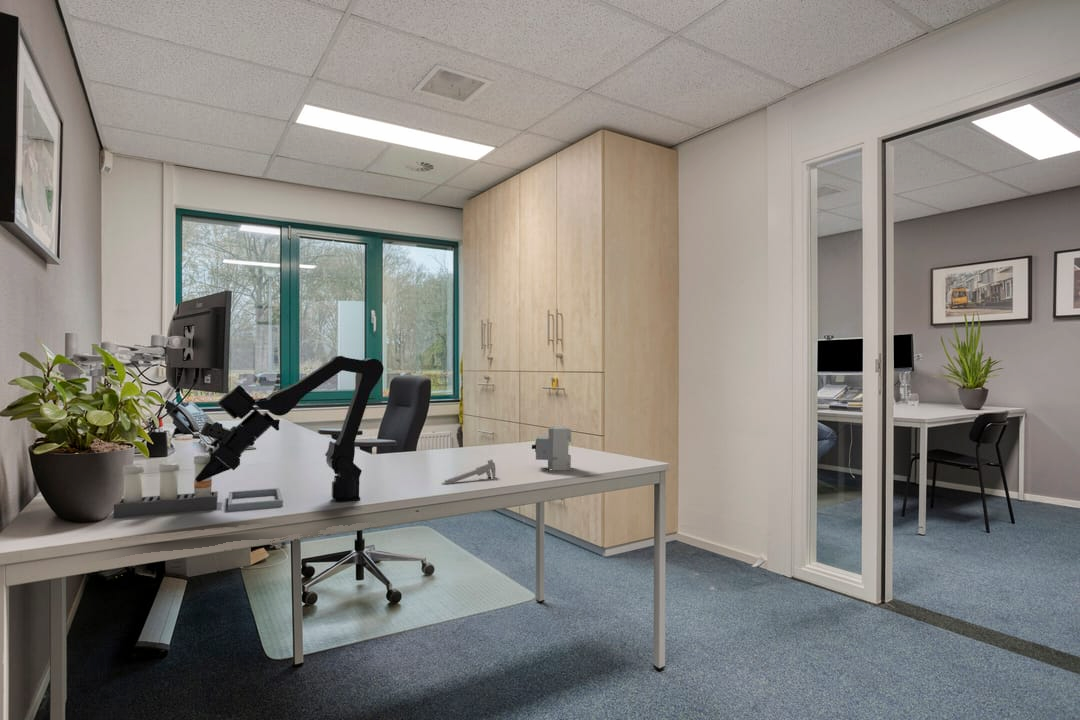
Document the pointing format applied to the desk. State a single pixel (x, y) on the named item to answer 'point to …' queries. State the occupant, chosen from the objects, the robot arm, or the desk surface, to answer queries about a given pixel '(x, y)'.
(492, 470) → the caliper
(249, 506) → the parts tray
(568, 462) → the circuit breaker
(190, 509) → the grey slotted rack
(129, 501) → the fuse
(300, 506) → the desk surface
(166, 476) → the block
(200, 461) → the marked fuse
